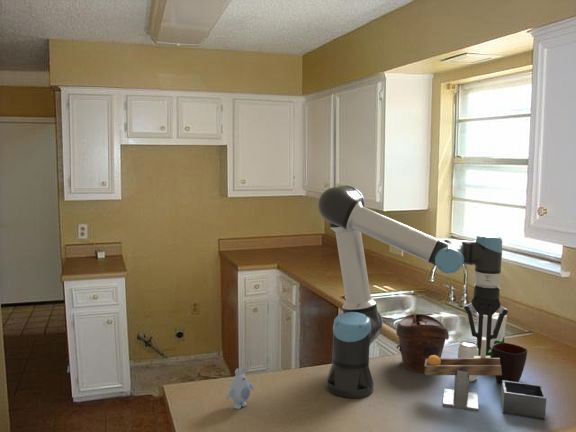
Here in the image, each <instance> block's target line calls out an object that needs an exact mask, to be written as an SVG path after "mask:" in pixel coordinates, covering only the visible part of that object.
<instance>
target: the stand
mask: <svg viewBox="0 0 576 432" xmlns="http://www.w3.org/2000/svg"><path fill="white" fill-rule="evenodd" d="M469 384H470V382H469V375H468V371H466V370H458V369H457V375H454V384H453V385H454V386H453V389H449V388H443V399H442V400H443V401H442V406H443V407H449V408H456V409H462V410H469V411H476V412H479V400H478V392H471V391H469Z"/></svg>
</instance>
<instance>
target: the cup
mask: <svg viewBox="0 0 576 432" xmlns="http://www.w3.org/2000/svg"><path fill="white" fill-rule="evenodd" d="M527 356H528V349H527V348H525V347H523V346H520V345H516V344H512V343H508V342H504V343H499V344H496V345H494V346H493V347H492V358H500V365H501V370H502V375H494V376H495V380H496V383H498V384H500V385H501V386H502V380H504V381H512V382H519V383H520V381H521V377H522V375H523V372H524V369H525V365H526V360H527Z"/></svg>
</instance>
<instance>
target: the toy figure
mask: <svg viewBox="0 0 576 432" xmlns="http://www.w3.org/2000/svg"><path fill="white" fill-rule="evenodd" d="M245 372H246V366H242V367H241V371H240V369H239V368H236V369H235V371H234V377H233V379H232V381H231V383H230V385H229V391H227V393H226V394H225V399H226V400H229V398H231V399H232V401H233V402H234V403H235V404H234V405H233V406H234V409H235V410H239V409H241V408H243V407H246V406H247V402H246V401H247V400H248V399H249V397H250V395H251V390H253V389H254V384H253V383H251V382H249V380H248V377H247V376H246V374H245Z"/></svg>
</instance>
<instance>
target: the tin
mask: <svg viewBox="0 0 576 432" xmlns="http://www.w3.org/2000/svg"><path fill="white" fill-rule="evenodd" d="M500 391H501V392H500V403H501V410H502V414H503V415H509V416H516V417H523V418H529V419H536V420H543V421H545V420H546V405H547V397H546V394H545V393H546V392H545V390H544V388H543V385H539V384H534V383H527V382H525V383H524V382H520V381H519V382H512V381H504V380H502V385H501V390H500Z"/></svg>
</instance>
